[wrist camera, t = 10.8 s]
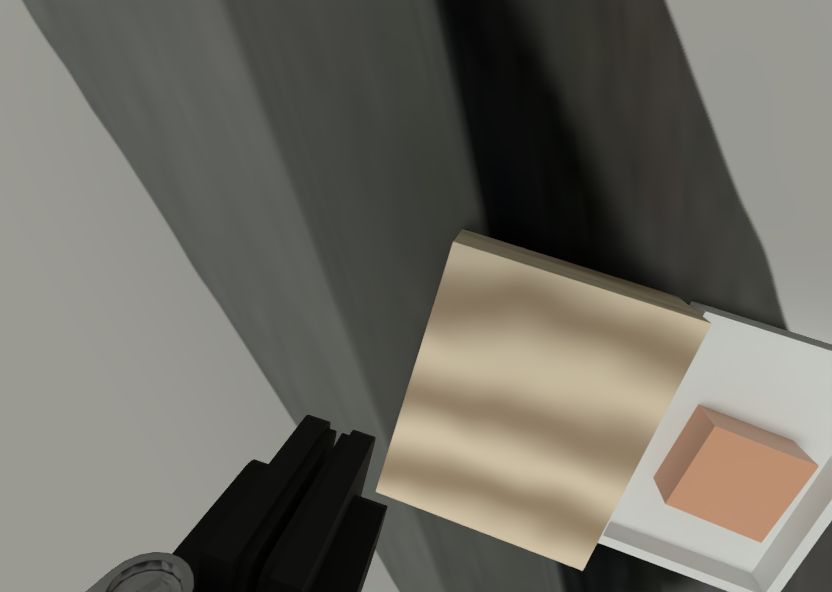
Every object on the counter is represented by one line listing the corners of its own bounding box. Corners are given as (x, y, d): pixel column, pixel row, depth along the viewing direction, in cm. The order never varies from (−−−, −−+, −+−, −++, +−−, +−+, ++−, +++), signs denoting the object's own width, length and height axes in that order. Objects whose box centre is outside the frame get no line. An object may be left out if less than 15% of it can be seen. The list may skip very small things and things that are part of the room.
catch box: (691, 300, 33) (705, 311, 31) (899, 365, 32) (930, 382, 29) (583, 516, 39) (588, 539, 37) (753, 579, 38) (769, 606, 35)
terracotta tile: (819, 466, 31) (793, 440, 34) (715, 425, 32) (698, 404, 34) (761, 542, 33) (741, 513, 36) (665, 503, 34) (653, 477, 37)
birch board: (462, 229, 35) (453, 241, 29) (677, 296, 33) (711, 323, 27) (394, 446, 41) (375, 491, 35) (572, 512, 39) (582, 570, 34)
